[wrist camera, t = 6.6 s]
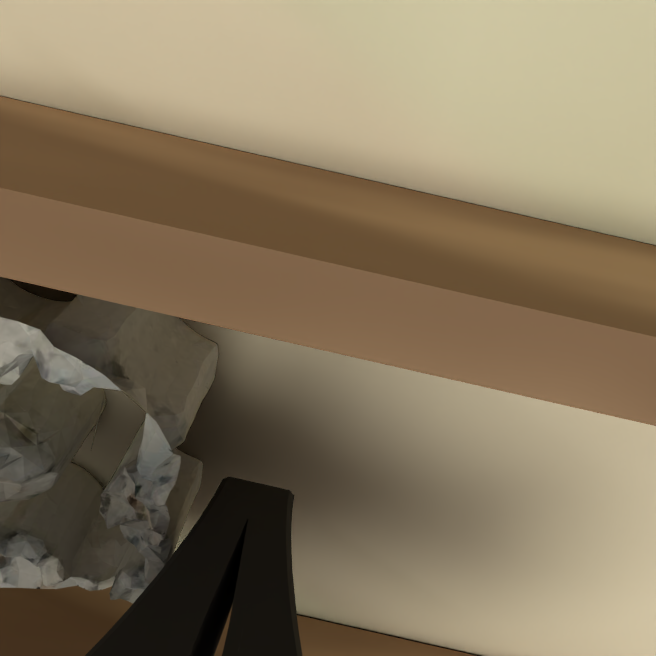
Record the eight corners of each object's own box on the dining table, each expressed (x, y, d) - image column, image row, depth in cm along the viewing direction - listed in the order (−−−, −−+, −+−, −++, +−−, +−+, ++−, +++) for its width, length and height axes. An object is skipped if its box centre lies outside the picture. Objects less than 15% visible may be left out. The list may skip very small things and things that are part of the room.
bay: (611, 710, 16) (662, 903, 13) (-258, 514, 16) (-429, 657, 13) (1004, 325, 9) (1348, 543, 6) (-579, -37, 9) (-1161, -29, 6)
